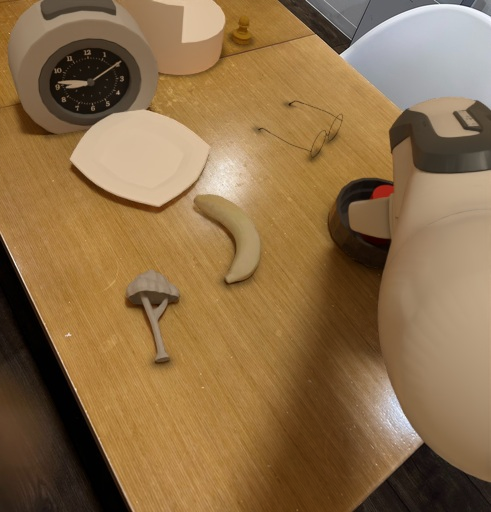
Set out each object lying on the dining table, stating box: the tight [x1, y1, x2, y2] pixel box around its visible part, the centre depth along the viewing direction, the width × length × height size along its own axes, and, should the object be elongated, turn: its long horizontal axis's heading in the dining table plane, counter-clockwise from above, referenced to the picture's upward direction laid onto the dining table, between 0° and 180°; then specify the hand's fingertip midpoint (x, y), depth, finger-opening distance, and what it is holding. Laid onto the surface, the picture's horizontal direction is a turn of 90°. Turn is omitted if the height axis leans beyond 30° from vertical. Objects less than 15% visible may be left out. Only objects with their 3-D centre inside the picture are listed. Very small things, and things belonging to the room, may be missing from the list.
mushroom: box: [125, 269, 181, 363], centre depth 62 cm, size 7×5×12 cm
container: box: [118, 0, 226, 76], centre depth 94 cm, size 20×20×13 cm
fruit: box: [193, 193, 262, 284], centre depth 72 cm, size 7×15×3 cm, turn 22°
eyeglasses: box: [257, 100, 344, 159], centre depth 88 cm, size 11×13×5 cm
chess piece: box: [231, 15, 252, 46], centre depth 103 cm, size 4×4×5 cm
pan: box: [328, 177, 394, 271], centre depth 77 cm, size 15×15×4 cm
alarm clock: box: [6, 0, 160, 135], centre depth 76 cm, size 21×8×20 cm, turn 115°
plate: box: [68, 109, 211, 208], centre depth 78 cm, size 19×19×2 cm
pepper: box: [359, 185, 394, 245], centre depth 75 cm, size 6×6×9 cm
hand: (387, 204), depth 74 cm, fingers open, 8 cm apart
